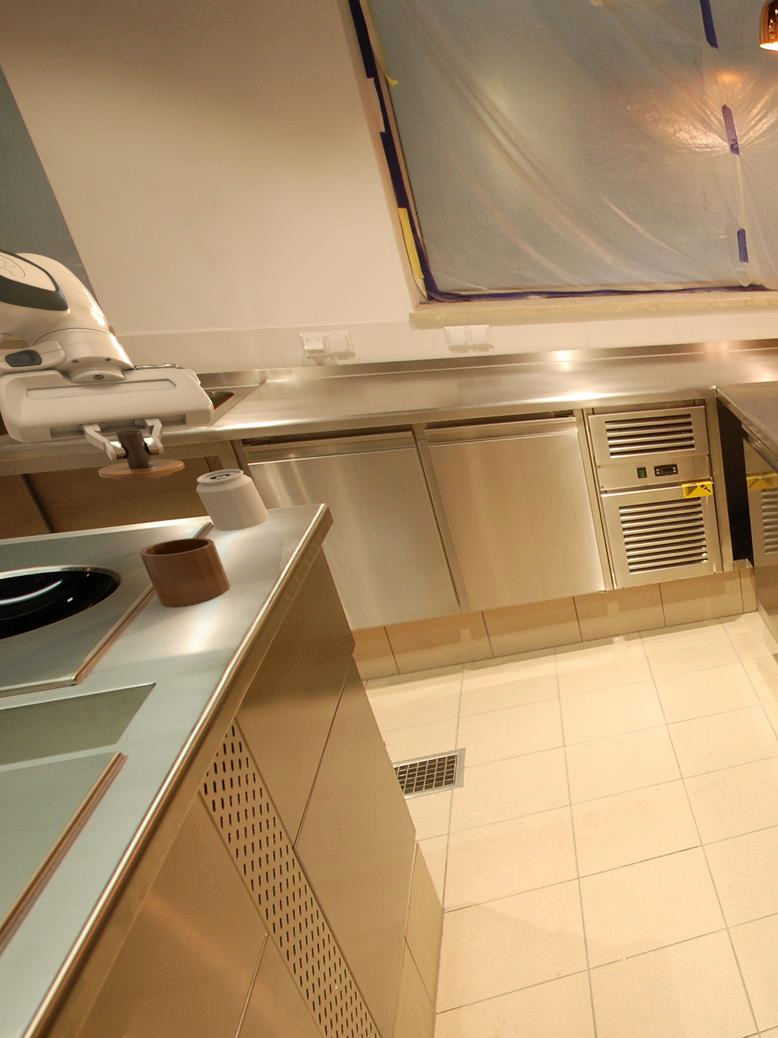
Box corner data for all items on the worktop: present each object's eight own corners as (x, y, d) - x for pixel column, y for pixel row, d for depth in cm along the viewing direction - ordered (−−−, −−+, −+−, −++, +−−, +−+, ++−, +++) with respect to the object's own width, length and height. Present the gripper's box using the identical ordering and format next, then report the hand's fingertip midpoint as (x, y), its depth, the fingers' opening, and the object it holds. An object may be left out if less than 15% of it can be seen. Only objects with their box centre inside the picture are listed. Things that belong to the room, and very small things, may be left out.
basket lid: (111, 487, 106) (92, 441, 103) (94, 475, 110) (76, 432, 108) (195, 475, 112) (179, 432, 109) (175, 464, 116) (160, 423, 114)
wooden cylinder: (173, 617, 116) (149, 559, 113) (155, 604, 120) (132, 547, 117) (241, 600, 122) (221, 545, 119) (222, 588, 126) (202, 534, 123)
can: (273, 527, 150) (242, 463, 143) (282, 540, 145) (250, 474, 139) (221, 540, 145) (187, 474, 139) (229, 553, 141) (194, 486, 134)
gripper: (189, 377, 120) (235, 456, 119) (-17, 392, 105) (33, 482, 104) (188, 347, 116) (235, 429, 115) (-28, 358, 101) (25, 452, 100)
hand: (137, 454), depth 109 cm, fingers closed on basket lid, 2 cm apart
